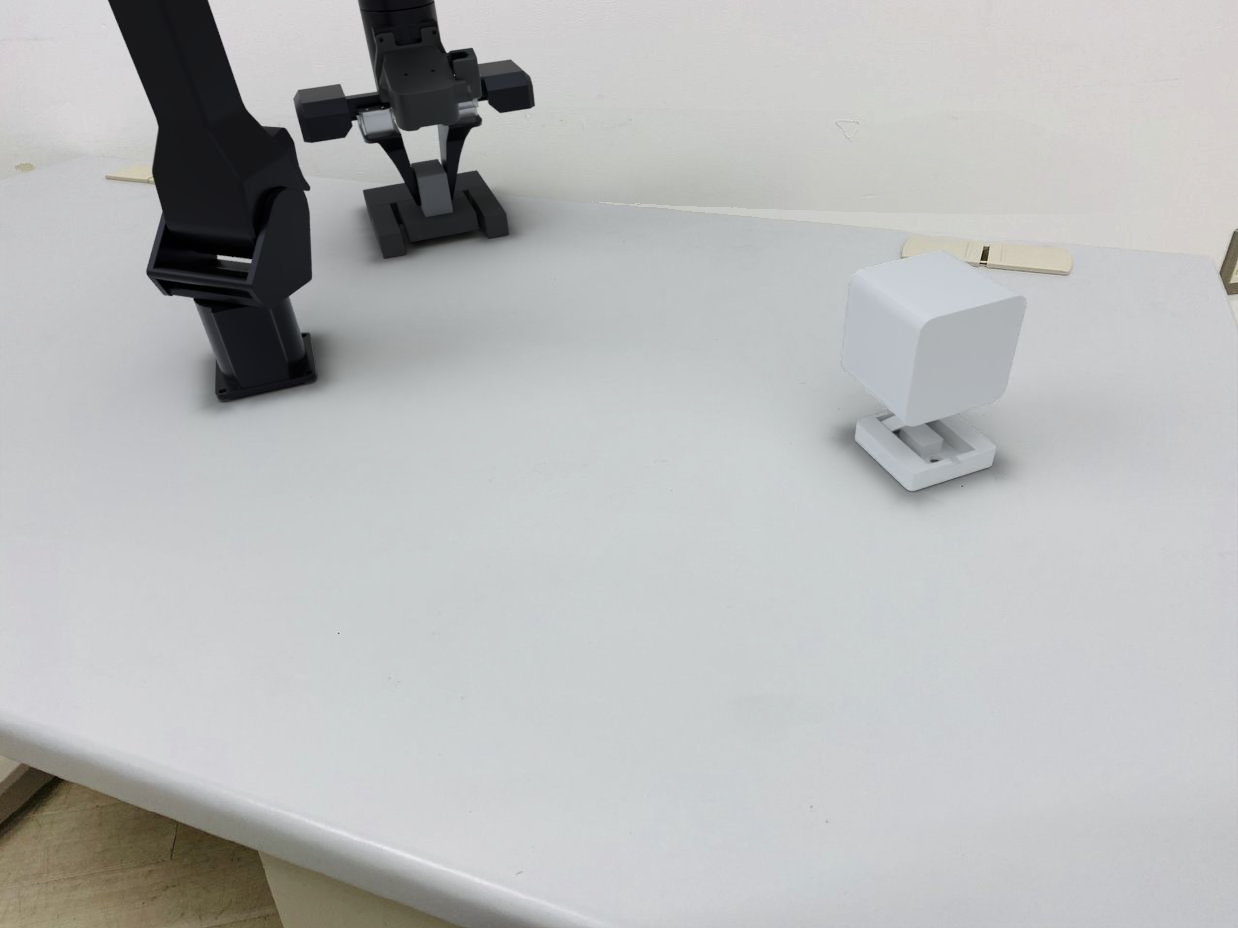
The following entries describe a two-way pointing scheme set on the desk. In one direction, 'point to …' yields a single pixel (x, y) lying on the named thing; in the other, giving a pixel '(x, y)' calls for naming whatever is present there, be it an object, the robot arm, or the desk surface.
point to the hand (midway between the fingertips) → (434, 202)
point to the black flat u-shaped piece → (386, 197)
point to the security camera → (929, 361)
